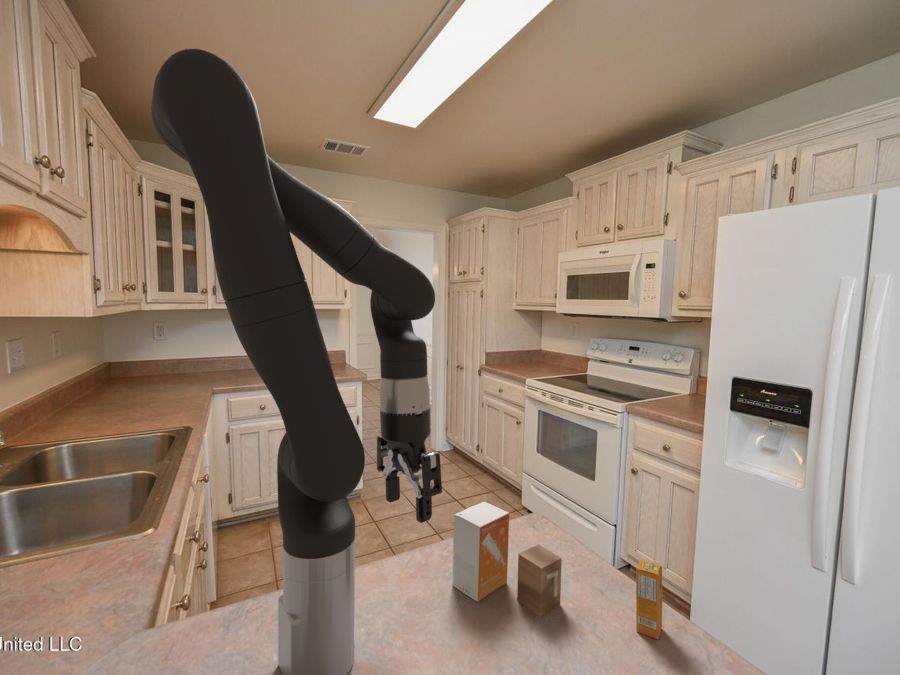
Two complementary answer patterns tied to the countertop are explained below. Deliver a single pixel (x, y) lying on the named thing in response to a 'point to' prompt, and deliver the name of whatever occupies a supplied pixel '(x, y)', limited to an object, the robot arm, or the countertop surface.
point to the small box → (480, 550)
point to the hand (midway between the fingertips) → (407, 510)
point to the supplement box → (649, 599)
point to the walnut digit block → (539, 579)
